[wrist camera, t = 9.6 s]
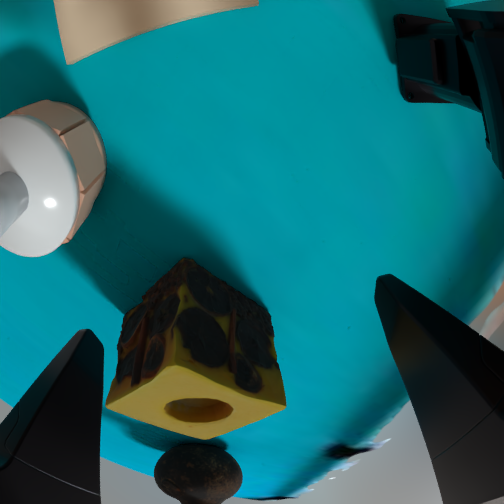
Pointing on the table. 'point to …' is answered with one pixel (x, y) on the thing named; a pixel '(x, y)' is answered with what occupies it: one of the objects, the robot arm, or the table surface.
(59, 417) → the robot arm
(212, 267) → the table surface
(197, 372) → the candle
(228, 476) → the dark brown vase
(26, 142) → the lid
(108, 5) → the mat
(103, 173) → the bowl
